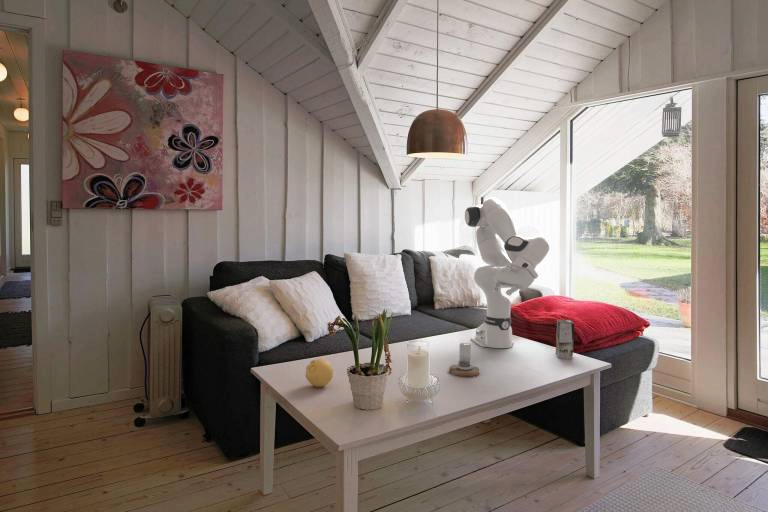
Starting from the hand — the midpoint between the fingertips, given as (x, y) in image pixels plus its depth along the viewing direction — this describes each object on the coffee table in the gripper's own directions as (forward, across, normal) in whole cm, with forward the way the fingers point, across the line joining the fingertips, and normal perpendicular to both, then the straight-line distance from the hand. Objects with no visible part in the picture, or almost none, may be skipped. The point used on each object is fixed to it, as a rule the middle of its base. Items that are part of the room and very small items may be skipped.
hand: (500, 292), depth 210 cm
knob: (+33, +2, +9) cm, 35 cm away
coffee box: (-5, -4, +50) cm, 50 cm away
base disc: (+34, +2, +10) cm, 36 cm away
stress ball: (+76, -1, -32) cm, 83 cm away
